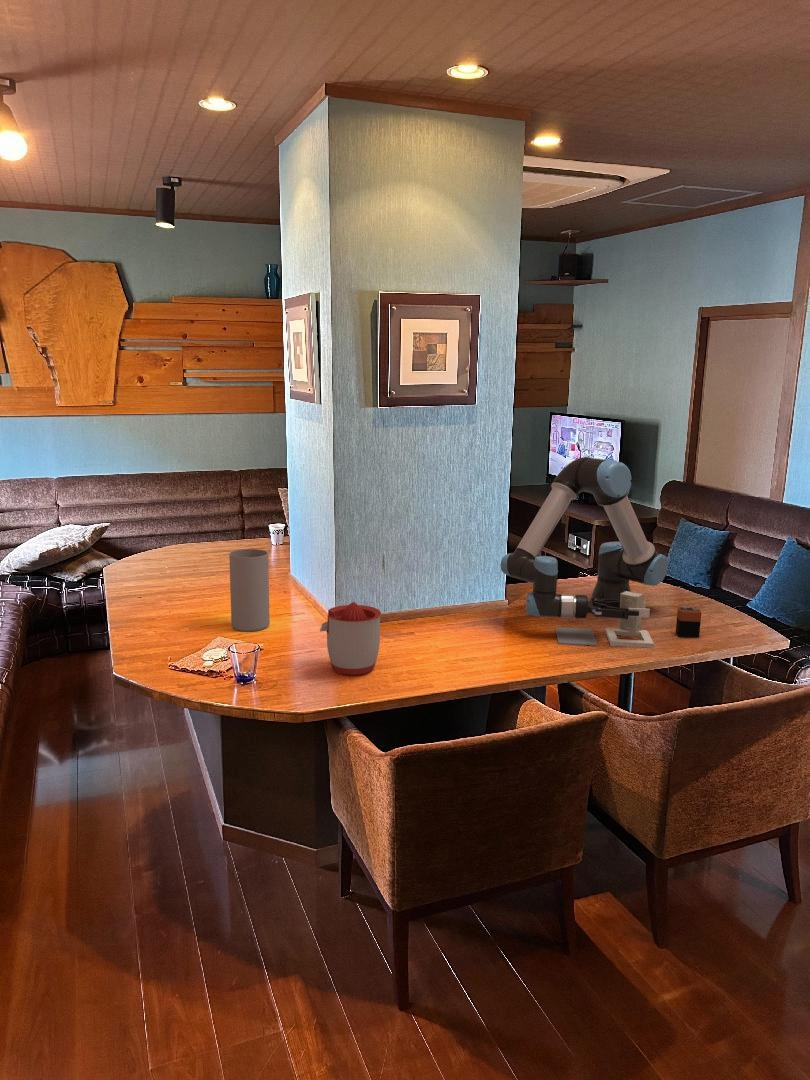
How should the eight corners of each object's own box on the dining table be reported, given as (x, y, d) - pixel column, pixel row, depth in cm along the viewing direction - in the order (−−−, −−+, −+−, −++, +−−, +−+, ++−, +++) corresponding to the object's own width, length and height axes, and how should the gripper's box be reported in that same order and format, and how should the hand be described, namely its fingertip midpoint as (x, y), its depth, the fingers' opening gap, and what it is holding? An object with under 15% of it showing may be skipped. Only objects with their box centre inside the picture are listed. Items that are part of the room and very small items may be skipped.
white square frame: (605, 632, 270) (605, 628, 269) (646, 634, 268) (646, 630, 268) (610, 645, 257) (610, 641, 256) (653, 648, 255) (654, 643, 255)
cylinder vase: (224, 629, 266) (221, 555, 261) (243, 618, 278) (241, 547, 273) (258, 634, 262) (256, 558, 257) (276, 623, 274) (275, 550, 269)
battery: (675, 633, 270) (677, 604, 268) (696, 634, 270) (698, 605, 268) (678, 637, 266) (680, 608, 264) (699, 638, 266) (702, 609, 263)
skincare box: (641, 630, 261) (644, 594, 259) (635, 633, 258) (638, 596, 256) (623, 626, 265) (626, 590, 263) (617, 629, 262) (620, 593, 260)
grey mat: (555, 628, 273) (555, 627, 273) (591, 630, 272) (591, 629, 271) (558, 644, 257) (558, 642, 257) (596, 646, 256) (596, 644, 256)
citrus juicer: (320, 659, 240) (320, 594, 236) (379, 659, 242) (380, 594, 237) (319, 679, 225) (318, 610, 221) (381, 678, 226) (382, 609, 222)
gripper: (571, 608, 273) (641, 612, 270) (576, 626, 254) (651, 630, 251) (572, 587, 271) (643, 590, 269) (577, 603, 252) (653, 607, 249)
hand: (647, 609), depth 260 cm, fingers closed on skincare box, 7 cm apart
